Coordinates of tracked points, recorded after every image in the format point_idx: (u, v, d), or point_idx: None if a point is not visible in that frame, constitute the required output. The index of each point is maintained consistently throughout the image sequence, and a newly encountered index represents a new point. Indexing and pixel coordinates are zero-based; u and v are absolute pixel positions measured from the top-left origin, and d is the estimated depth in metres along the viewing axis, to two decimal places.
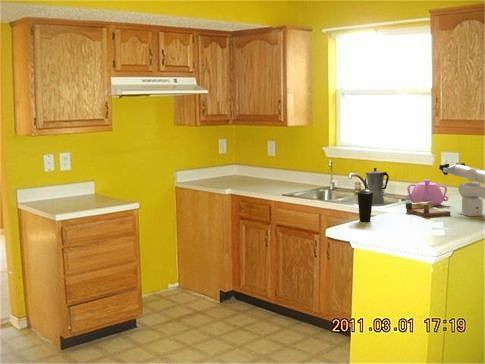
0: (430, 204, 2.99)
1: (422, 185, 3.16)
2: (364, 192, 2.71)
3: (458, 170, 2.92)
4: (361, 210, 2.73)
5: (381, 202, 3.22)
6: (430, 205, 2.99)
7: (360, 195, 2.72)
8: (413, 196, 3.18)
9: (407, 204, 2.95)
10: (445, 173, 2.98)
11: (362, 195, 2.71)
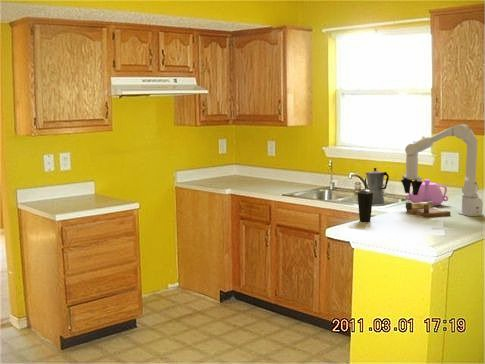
0: (430, 204, 2.99)
1: (422, 185, 3.16)
2: (364, 192, 2.71)
3: (414, 168, 2.99)
4: (361, 210, 2.73)
5: (381, 202, 3.22)
6: (430, 205, 2.99)
7: (360, 195, 2.72)
8: (413, 196, 3.18)
9: (407, 204, 2.95)
10: (420, 181, 2.98)
11: (362, 195, 2.71)
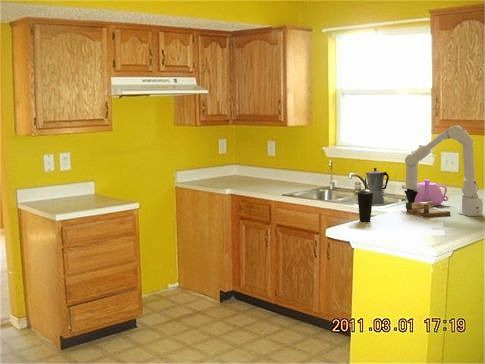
0: (430, 204, 2.99)
1: (422, 185, 3.16)
2: (364, 192, 2.71)
3: (413, 178, 2.99)
4: (361, 210, 2.73)
5: (381, 202, 3.22)
6: (430, 205, 2.99)
7: (360, 195, 2.72)
8: None
9: (407, 204, 2.95)
10: (416, 191, 3.02)
11: (362, 195, 2.71)
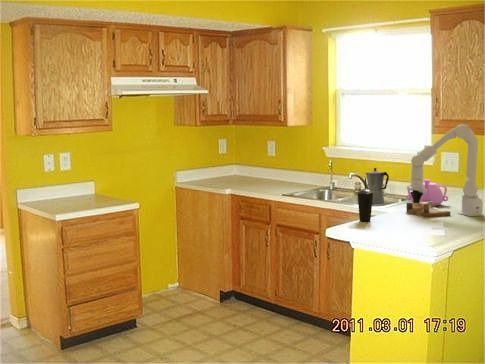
0: (430, 204, 2.99)
1: None
2: (364, 192, 2.71)
3: (419, 180, 2.95)
4: (361, 210, 2.73)
5: (381, 202, 3.22)
6: (430, 205, 2.99)
7: (360, 195, 2.72)
8: None
9: (408, 204, 2.94)
10: None
11: (362, 195, 2.71)
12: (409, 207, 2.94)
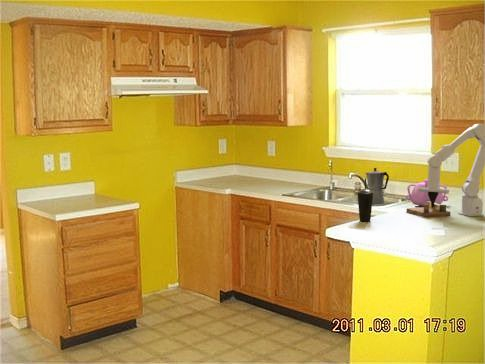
0: None
1: (422, 185, 3.16)
2: (364, 192, 2.71)
3: (439, 180, 2.89)
4: (361, 210, 2.73)
5: (381, 202, 3.22)
6: None
7: (360, 195, 2.72)
8: (413, 196, 3.18)
9: (445, 206, 2.87)
10: None
11: (362, 195, 2.71)
12: None
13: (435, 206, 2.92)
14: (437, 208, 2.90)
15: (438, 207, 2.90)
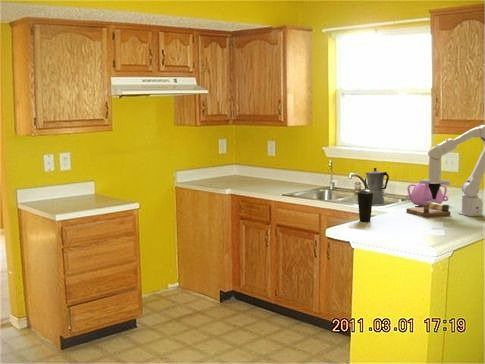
0: None
1: (422, 185, 3.16)
2: (364, 192, 2.71)
3: (440, 172, 2.89)
4: (361, 210, 2.73)
5: (381, 202, 3.22)
6: None
7: (360, 195, 2.72)
8: (413, 196, 3.18)
9: (448, 206, 2.87)
10: None
11: (362, 195, 2.71)
12: (448, 209, 2.88)
13: (437, 206, 2.92)
14: (439, 208, 2.90)
15: (440, 207, 2.90)
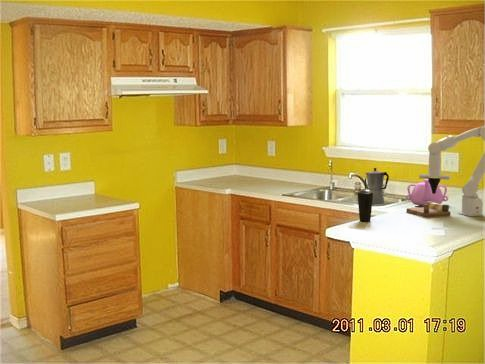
0: None
1: (422, 185, 3.16)
2: (364, 192, 2.71)
3: (440, 167, 2.94)
4: (361, 210, 2.73)
5: (381, 202, 3.22)
6: None
7: (360, 195, 2.72)
8: (413, 196, 3.18)
9: (448, 206, 2.87)
10: None
11: (362, 195, 2.71)
12: (448, 209, 2.88)
13: (437, 206, 2.92)
14: (439, 208, 2.90)
15: (440, 207, 2.90)
